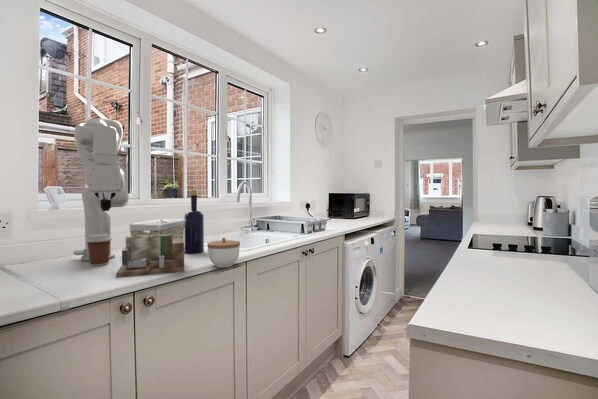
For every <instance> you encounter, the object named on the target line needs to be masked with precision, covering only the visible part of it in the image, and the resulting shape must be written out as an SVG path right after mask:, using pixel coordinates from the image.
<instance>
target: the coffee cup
mask: <svg viewBox="0 0 598 399" xmlns="http://www.w3.org/2000/svg"><path fill="white" fill-rule="evenodd" d="M112 240H113V237H112V236H111V237H110V236H109V234H91V235H89V238H87V239H86V240H85V239H84V243H85V242H87V243H88V252H89V260H90V261H89V266H90V267H99V266H107V265H109V261H110V260H109V250H110V241H111V242H112Z"/></svg>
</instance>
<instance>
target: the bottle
mask: <svg viewBox="0 0 598 399" xmlns="http://www.w3.org/2000/svg"><path fill="white" fill-rule="evenodd" d="M189 196H190V211H187V212H186V213H185V214H184V216H183V217H184V219H183V220H184V254H186V255H199V254H202V253H205V246H204V245H205V238H204V237H205V235H204V234H205V231H204V230H205V229H204V228H205V226H204V225H205V224H204V223H205V222H204V218H205V217H204V214H203V212H201V211H199V210H198V206H197V205H198V190H197V189H196V190H193V189H191V190H190V195H189Z"/></svg>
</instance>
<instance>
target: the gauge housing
mask: <svg viewBox="0 0 598 399" xmlns="http://www.w3.org/2000/svg"><path fill="white" fill-rule="evenodd" d="M161 241H162V256H164V268H159V256H161ZM126 246H131V259H138V258H148V264H147V267H140V268H128V265H122V264H121V266H120V267H119V269H118V270H117V271H116V274H115V277H116V278H125V277H137V276H148V275H149V276H150V275H160V274H172V273H173V274H175V273H184V272H185V237H183V238H176V234H173V235H150V236H131V235H130V236H129V235H128V236H127V235H126V236H125V247H126Z"/></svg>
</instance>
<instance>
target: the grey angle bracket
mask: <svg viewBox="0 0 598 399" xmlns="http://www.w3.org/2000/svg"><path fill="white" fill-rule="evenodd" d="M147 264H148V258H138V259H131V246H126V245H125V246H124V248H123V249H122V250H121V266H122V265H128V268H140V267H147Z"/></svg>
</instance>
